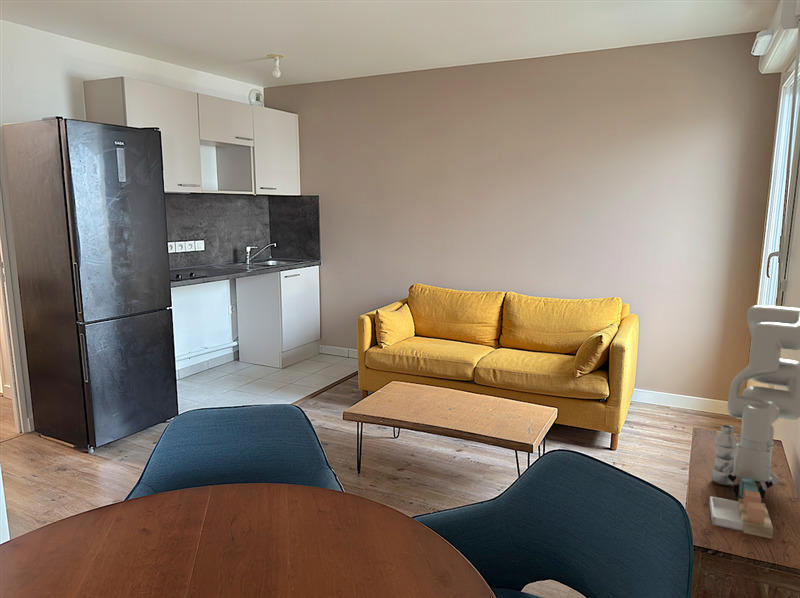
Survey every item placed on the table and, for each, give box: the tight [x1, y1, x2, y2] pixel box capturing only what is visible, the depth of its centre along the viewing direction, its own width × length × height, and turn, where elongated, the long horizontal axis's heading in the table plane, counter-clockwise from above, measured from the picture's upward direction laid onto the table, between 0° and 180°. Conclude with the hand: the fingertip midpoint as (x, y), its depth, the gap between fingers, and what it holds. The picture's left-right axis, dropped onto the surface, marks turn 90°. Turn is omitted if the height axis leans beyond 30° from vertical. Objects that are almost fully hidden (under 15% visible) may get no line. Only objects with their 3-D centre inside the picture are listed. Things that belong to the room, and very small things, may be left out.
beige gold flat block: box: [737, 498, 774, 539], centre depth 168 cm, size 16×7×3 cm, turn 155°
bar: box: [739, 478, 759, 499], centre depth 182 cm, size 12×4×6 cm, turn 155°
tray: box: [708, 495, 744, 532], centre depth 171 cm, size 14×8×2 cm, turn 155°
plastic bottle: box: [711, 424, 738, 486], centre depth 192 cm, size 6×7×20 cm
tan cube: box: [743, 490, 762, 508], centre depth 172 cm, size 4×4×4 cm
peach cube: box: [746, 501, 765, 524], centre depth 164 cm, size 4×4×4 cm
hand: (748, 497), depth 182 cm, fingers open, 5 cm apart
